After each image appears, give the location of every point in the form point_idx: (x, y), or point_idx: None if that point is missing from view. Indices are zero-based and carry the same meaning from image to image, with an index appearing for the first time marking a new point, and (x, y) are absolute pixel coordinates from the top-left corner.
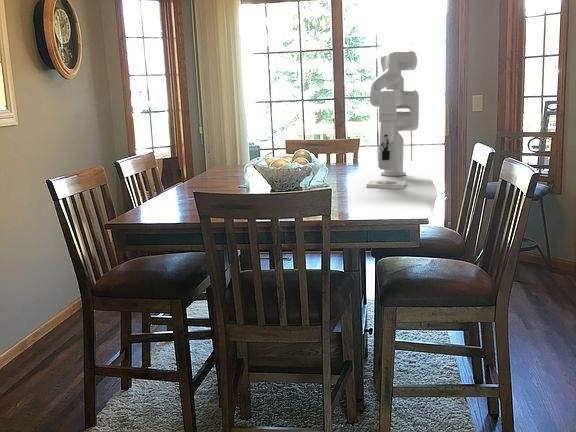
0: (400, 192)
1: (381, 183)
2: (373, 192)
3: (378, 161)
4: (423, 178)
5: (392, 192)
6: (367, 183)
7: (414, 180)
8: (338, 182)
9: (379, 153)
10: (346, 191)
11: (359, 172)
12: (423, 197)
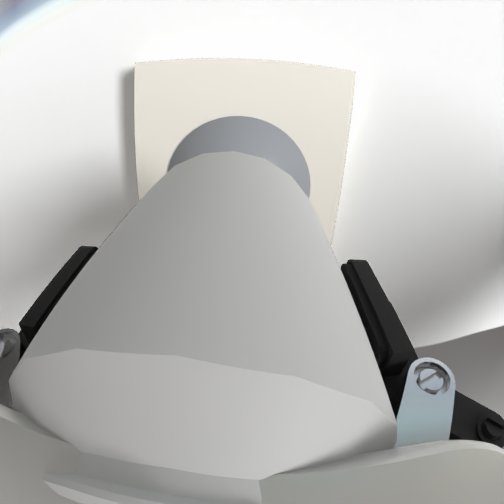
0: (49, 266)
1: (182, 158)
2: (10, 152)
3: (187, 171)
4: (484, 326)
5: (36, 234)
6: (179, 59)
7: (449, 305)
8: None
9: (103, 245)
10: (16, 20)
11: None
12: (9, 328)
